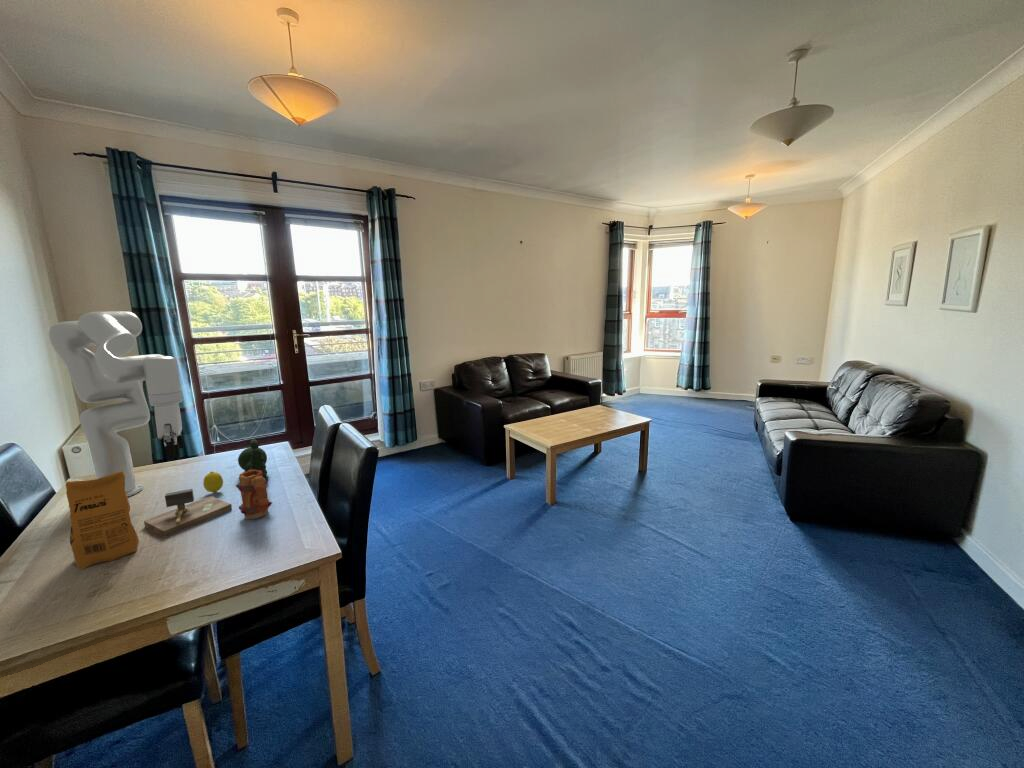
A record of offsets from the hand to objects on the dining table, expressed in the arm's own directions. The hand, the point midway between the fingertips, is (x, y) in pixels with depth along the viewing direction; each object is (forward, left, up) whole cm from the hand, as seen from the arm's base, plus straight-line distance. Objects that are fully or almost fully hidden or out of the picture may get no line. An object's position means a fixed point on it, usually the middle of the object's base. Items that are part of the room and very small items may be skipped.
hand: (175, 453), depth 123 cm
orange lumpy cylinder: (+21, +10, -21) cm, 32 cm away
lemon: (-10, +13, -21) cm, 27 cm away
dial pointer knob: (+3, -3, -19) cm, 19 cm away
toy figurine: (-9, +27, -21) cm, 35 cm away
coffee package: (+4, -20, -21) cm, 29 cm away
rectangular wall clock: (+2, 0, -21) cm, 21 cm away
